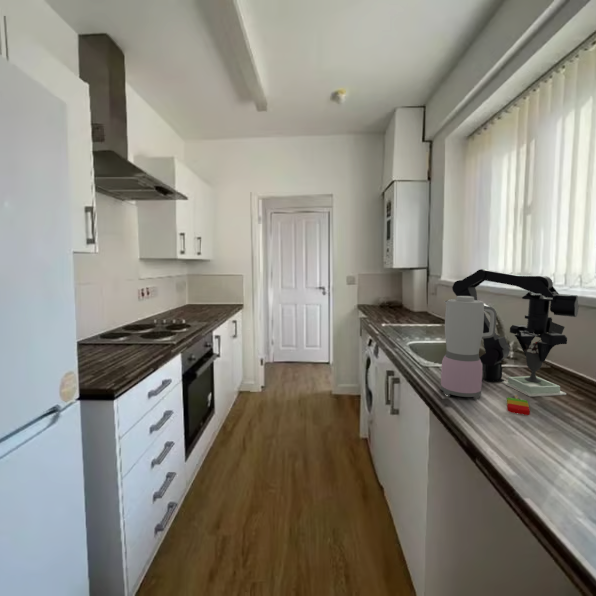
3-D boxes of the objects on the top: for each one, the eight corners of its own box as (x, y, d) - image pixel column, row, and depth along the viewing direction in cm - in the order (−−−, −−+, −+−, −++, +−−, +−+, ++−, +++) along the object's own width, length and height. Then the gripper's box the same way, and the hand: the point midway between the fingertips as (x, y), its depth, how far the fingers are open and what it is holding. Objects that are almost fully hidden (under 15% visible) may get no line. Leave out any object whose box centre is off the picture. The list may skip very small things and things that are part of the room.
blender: (443, 399, 114) (448, 298, 110) (436, 385, 126) (440, 294, 122) (497, 403, 110) (504, 299, 107) (485, 389, 122) (491, 295, 119)
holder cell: (529, 396, 116) (530, 389, 116) (502, 382, 129) (502, 376, 128) (566, 394, 117) (566, 387, 117) (535, 381, 130) (536, 374, 130)
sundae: (549, 383, 120) (553, 339, 118) (529, 383, 120) (532, 339, 118) (536, 377, 126) (540, 335, 124) (517, 377, 126) (520, 335, 125)
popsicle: (507, 413, 104) (507, 407, 104) (506, 396, 117) (506, 390, 117) (529, 417, 102) (530, 411, 101) (526, 399, 115) (526, 394, 115)
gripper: (585, 317, 112) (580, 366, 114) (538, 309, 130) (535, 351, 132) (552, 318, 111) (548, 367, 112) (510, 309, 129) (507, 352, 131)
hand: (534, 358), depth 122 cm, fingers closed on sundae, 6 cm apart
